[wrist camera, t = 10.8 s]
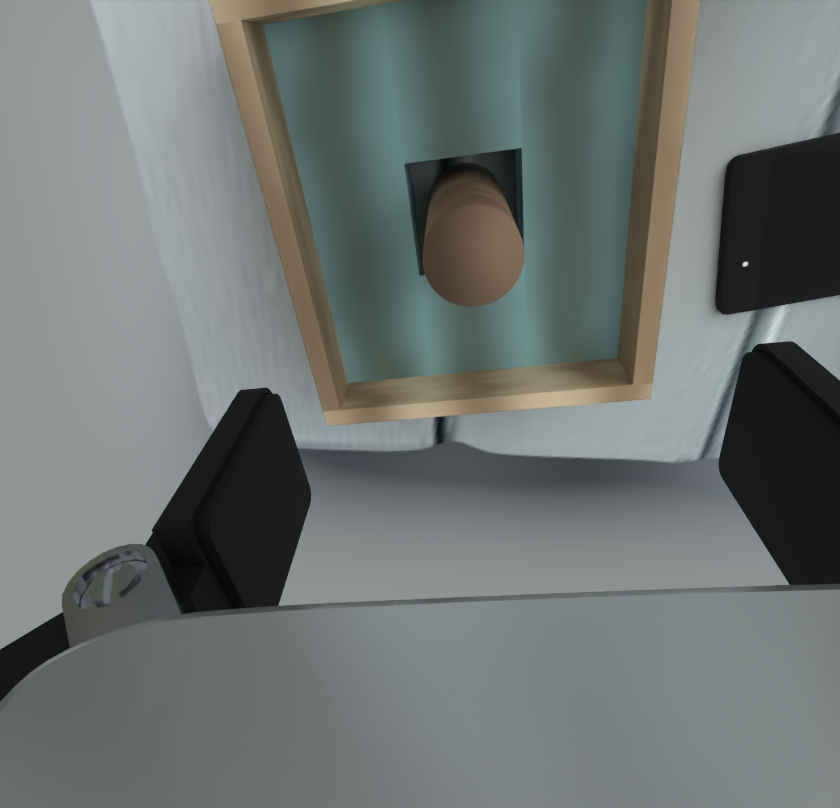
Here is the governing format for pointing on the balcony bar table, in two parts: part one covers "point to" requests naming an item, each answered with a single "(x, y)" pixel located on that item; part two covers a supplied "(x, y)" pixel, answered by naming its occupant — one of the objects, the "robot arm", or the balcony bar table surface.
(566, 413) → the balcony bar table surface
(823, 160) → the cell phone
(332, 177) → the box
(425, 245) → the peg
